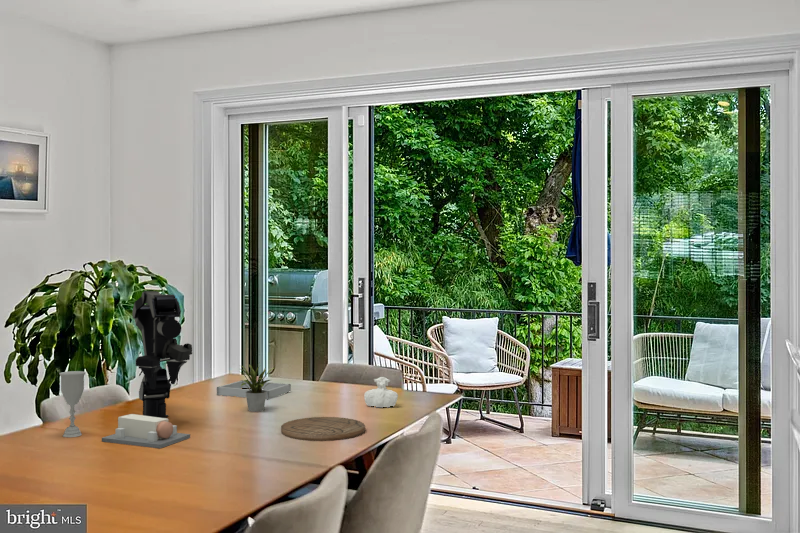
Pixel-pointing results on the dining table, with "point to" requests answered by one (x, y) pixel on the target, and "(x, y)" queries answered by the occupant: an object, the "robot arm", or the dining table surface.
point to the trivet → (322, 428)
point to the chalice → (72, 396)
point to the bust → (381, 395)
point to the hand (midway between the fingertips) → (163, 386)
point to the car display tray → (236, 390)
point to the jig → (149, 442)
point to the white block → (145, 426)
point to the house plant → (255, 390)
